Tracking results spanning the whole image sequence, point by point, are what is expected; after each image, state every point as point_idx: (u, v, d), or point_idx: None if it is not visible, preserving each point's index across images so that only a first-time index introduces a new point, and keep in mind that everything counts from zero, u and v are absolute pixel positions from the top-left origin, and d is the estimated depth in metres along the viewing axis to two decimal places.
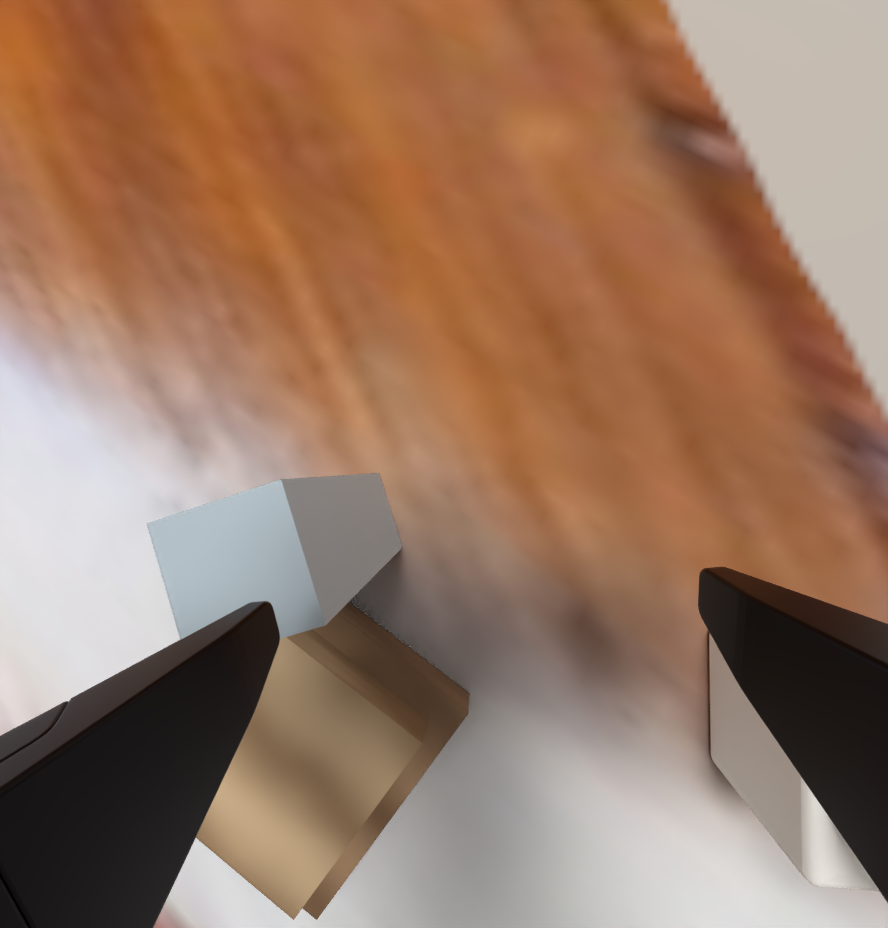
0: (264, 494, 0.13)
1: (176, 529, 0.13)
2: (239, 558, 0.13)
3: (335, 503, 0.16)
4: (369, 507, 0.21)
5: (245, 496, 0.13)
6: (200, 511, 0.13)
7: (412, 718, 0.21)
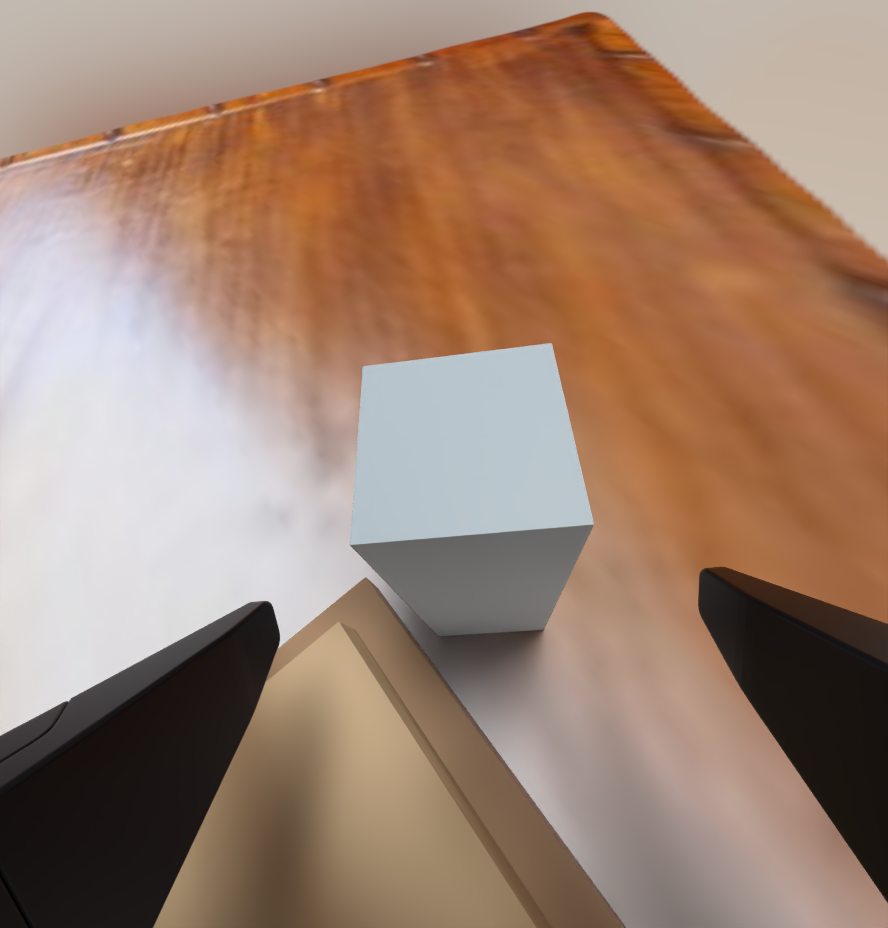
0: (525, 355, 0.10)
1: (398, 376, 0.10)
2: (474, 417, 0.09)
3: None
4: None
5: (499, 354, 0.10)
6: (436, 361, 0.10)
7: (545, 927, 0.12)
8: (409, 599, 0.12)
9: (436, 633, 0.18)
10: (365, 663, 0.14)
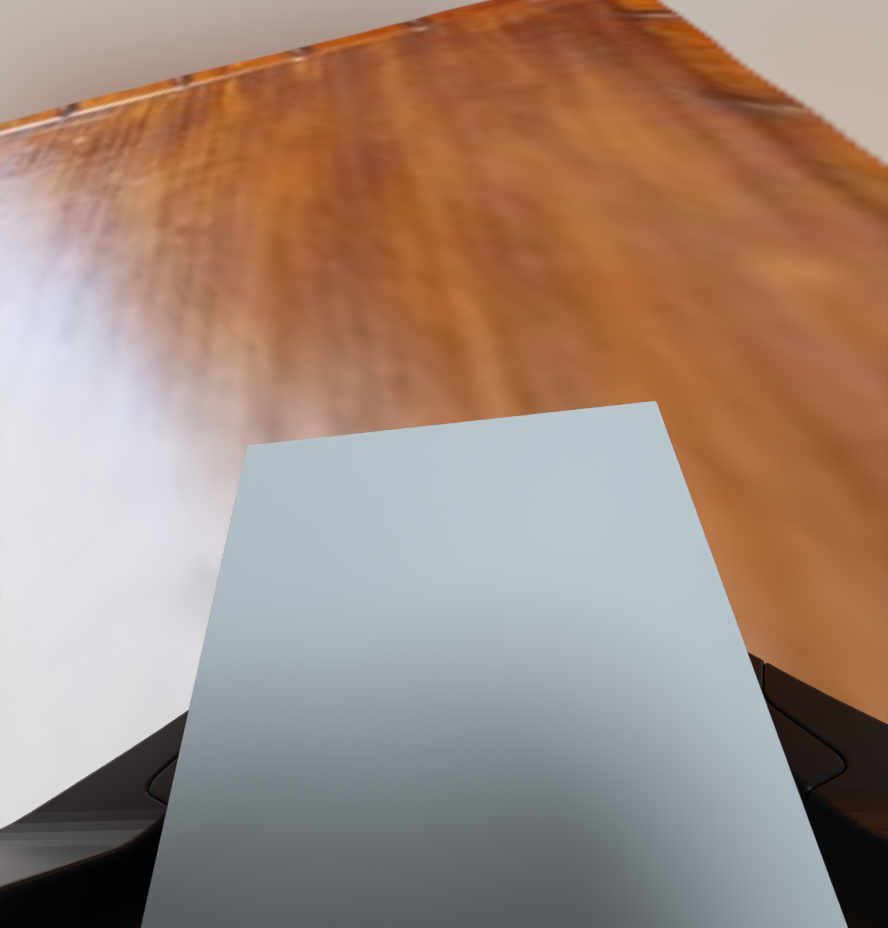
0: (598, 428, 0.04)
1: (317, 473, 0.05)
2: (486, 596, 0.04)
3: None
4: None
5: (540, 425, 0.04)
6: (401, 440, 0.05)
7: None
8: None
9: None
10: None
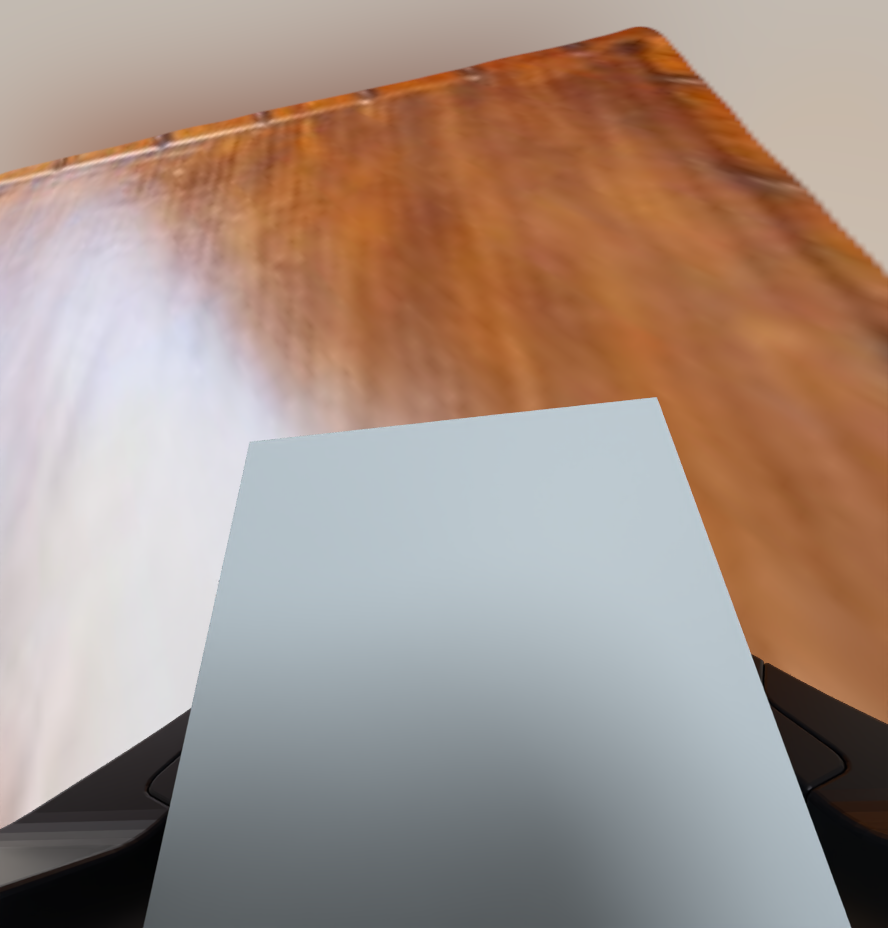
0: (599, 425, 0.04)
1: (319, 469, 0.05)
2: (488, 591, 0.04)
3: None
4: None
5: (541, 421, 0.04)
6: (403, 436, 0.05)
7: None
8: None
9: None
10: None
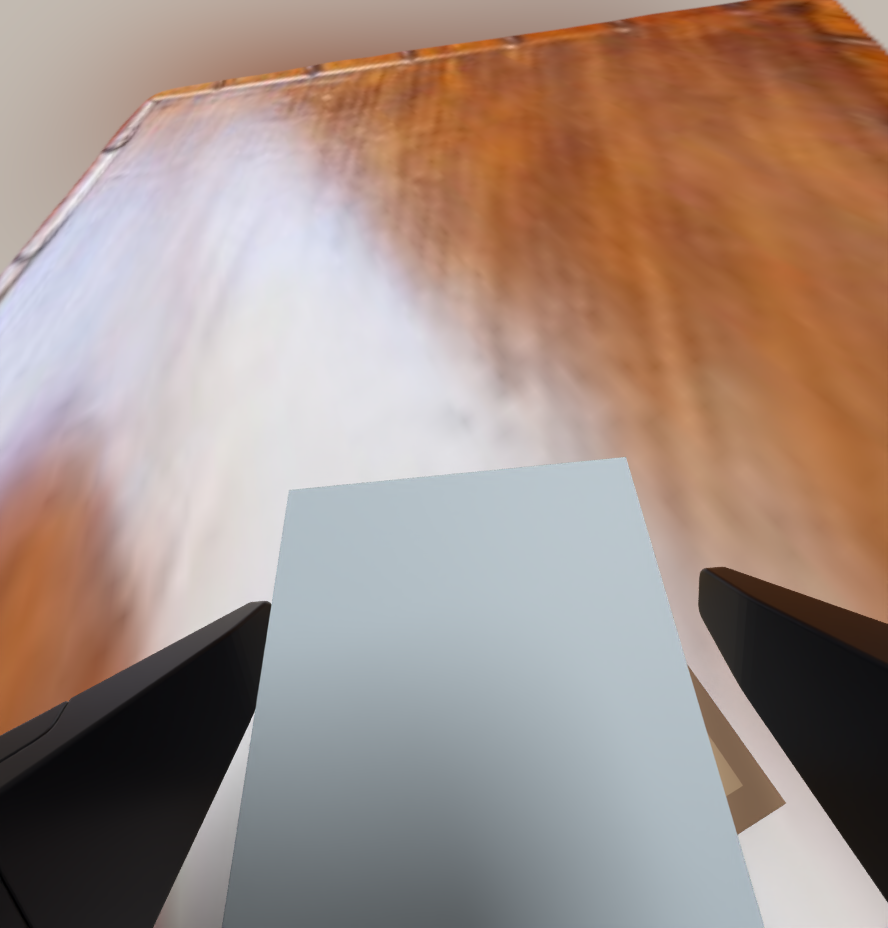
0: (578, 480, 0.05)
1: (348, 515, 0.06)
2: (487, 620, 0.05)
3: None
4: None
5: (531, 477, 0.05)
6: (417, 487, 0.06)
7: None
8: None
9: None
10: None
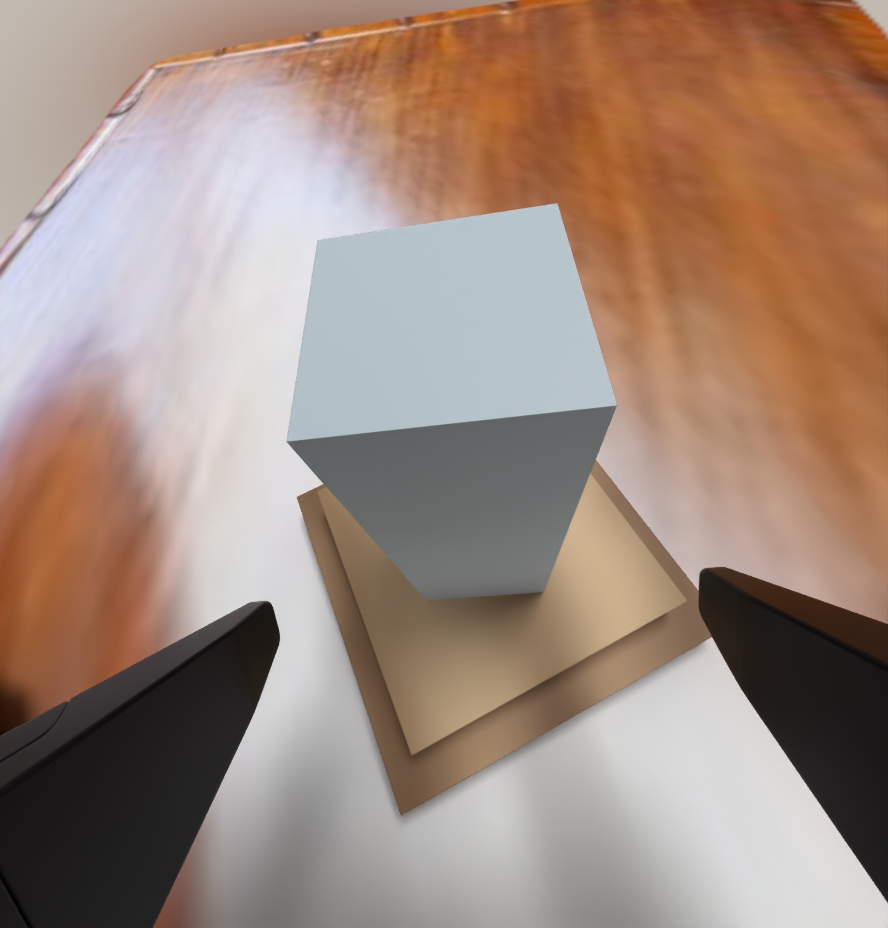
0: (523, 217, 0.08)
1: (361, 249, 0.08)
2: (456, 288, 0.07)
3: None
4: None
5: (490, 218, 0.08)
6: (410, 230, 0.08)
7: None
8: (384, 543, 0.10)
9: (423, 596, 0.16)
10: None
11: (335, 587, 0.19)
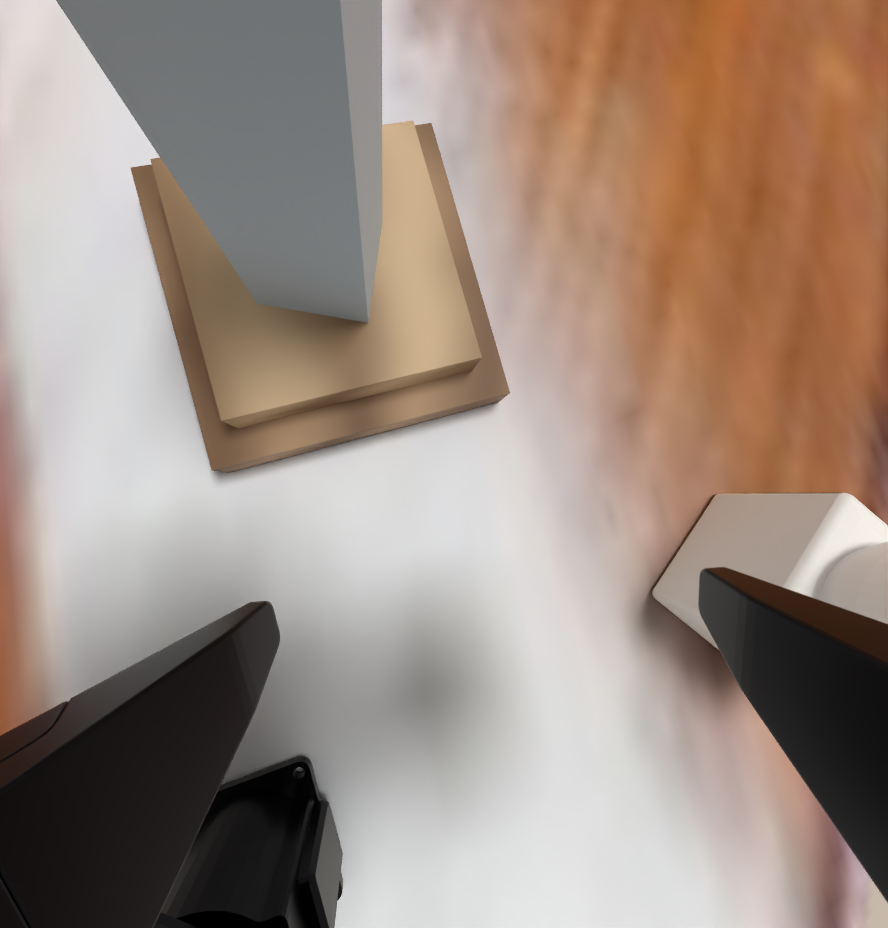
0: None
1: None
2: None
3: (375, 46, 0.10)
4: (375, 194, 0.14)
5: None
6: None
7: None
8: (176, 171, 0.10)
9: (251, 294, 0.16)
10: (423, 159, 0.19)
11: (170, 278, 0.19)
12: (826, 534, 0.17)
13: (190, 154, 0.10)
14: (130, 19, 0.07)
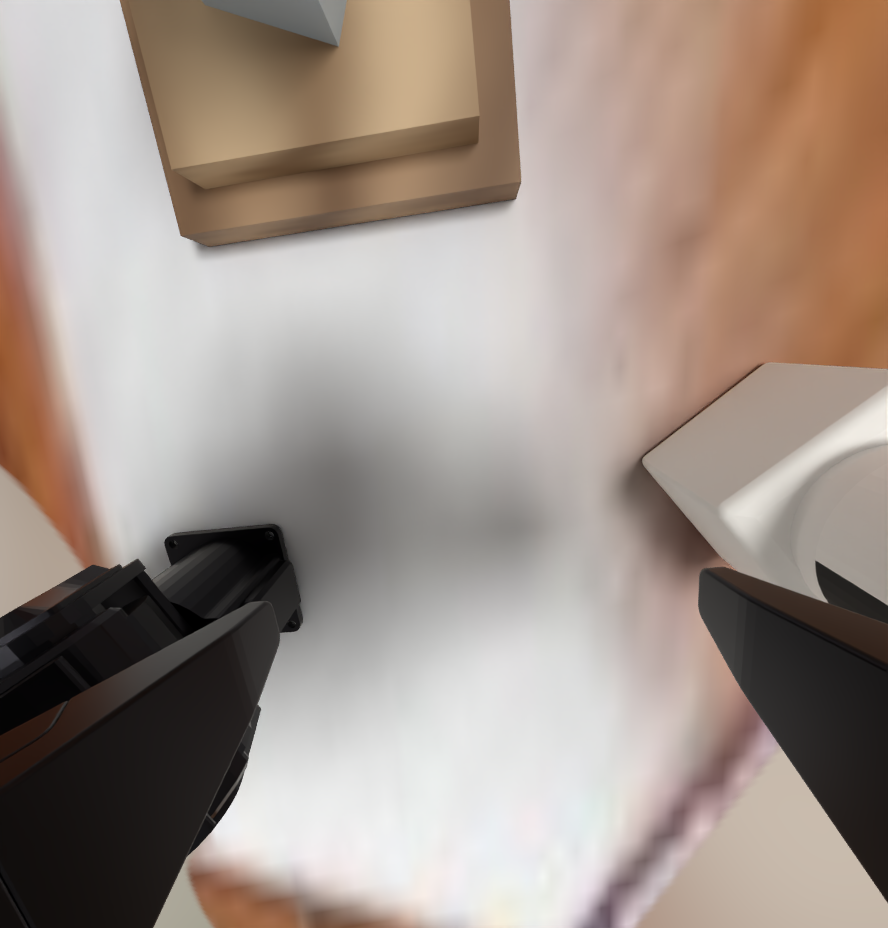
0: None
1: None
2: None
3: None
4: None
5: None
6: None
7: None
8: None
9: None
10: None
11: None
12: (858, 418, 0.13)
13: None
14: None
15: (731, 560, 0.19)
